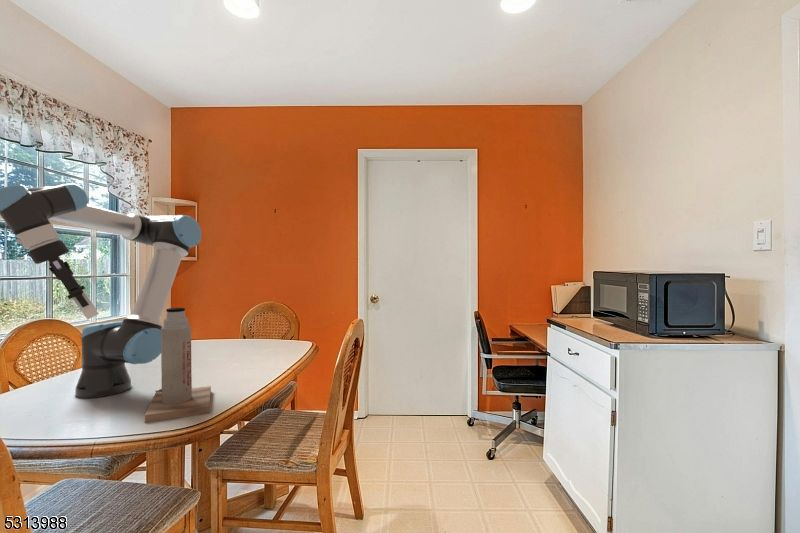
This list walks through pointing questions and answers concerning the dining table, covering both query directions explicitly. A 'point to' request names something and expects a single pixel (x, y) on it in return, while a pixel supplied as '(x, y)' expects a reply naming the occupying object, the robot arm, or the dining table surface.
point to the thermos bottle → (176, 357)
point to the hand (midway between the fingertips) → (92, 314)
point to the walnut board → (179, 406)
